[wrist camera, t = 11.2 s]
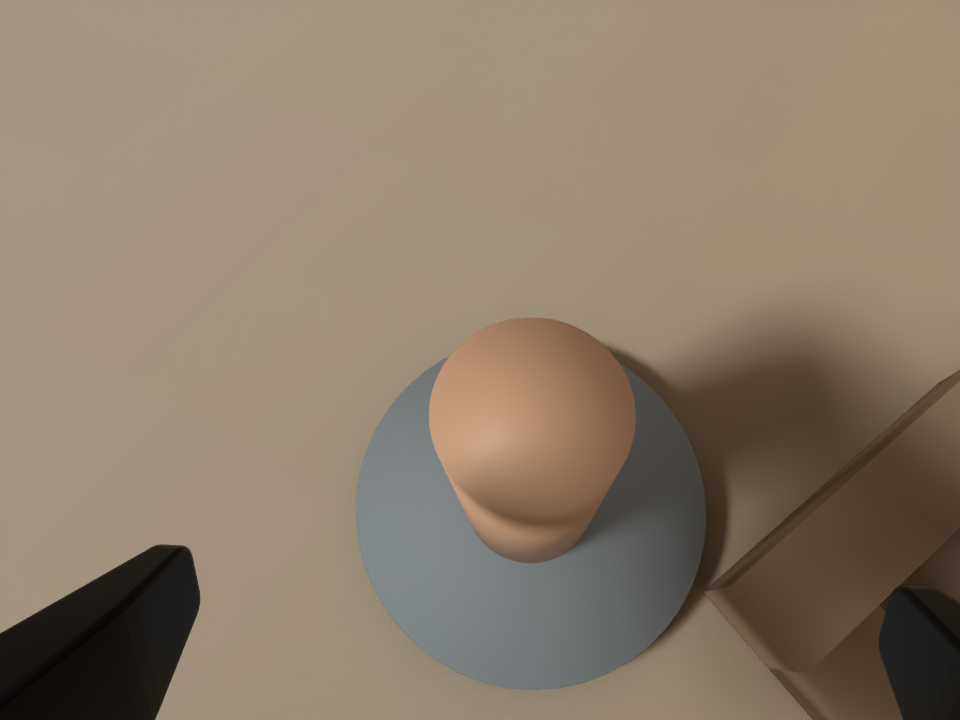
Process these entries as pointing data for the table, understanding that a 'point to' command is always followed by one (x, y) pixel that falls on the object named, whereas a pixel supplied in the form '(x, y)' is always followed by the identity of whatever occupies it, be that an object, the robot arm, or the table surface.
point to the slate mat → (530, 586)
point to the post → (531, 433)
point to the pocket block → (850, 563)
